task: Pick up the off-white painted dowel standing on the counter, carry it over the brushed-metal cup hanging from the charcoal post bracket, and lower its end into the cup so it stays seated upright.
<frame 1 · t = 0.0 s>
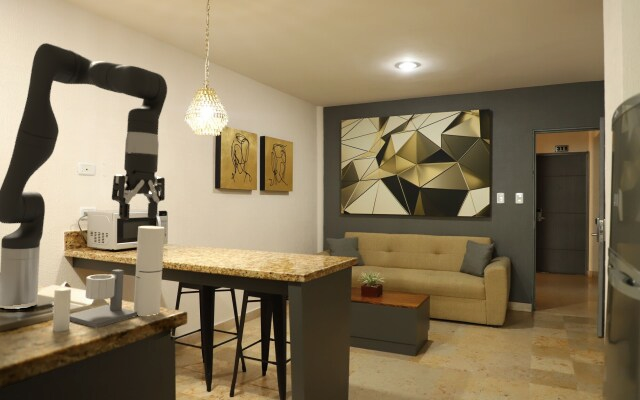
hand: (138, 218, 110), 29 cm above the counter, fingers open, 8 cm apart
cup bracket: (102, 317, 124), on the counter
dowel: (61, 329, 113), on the counter
cylindrical container: (146, 313, 131), on the counter
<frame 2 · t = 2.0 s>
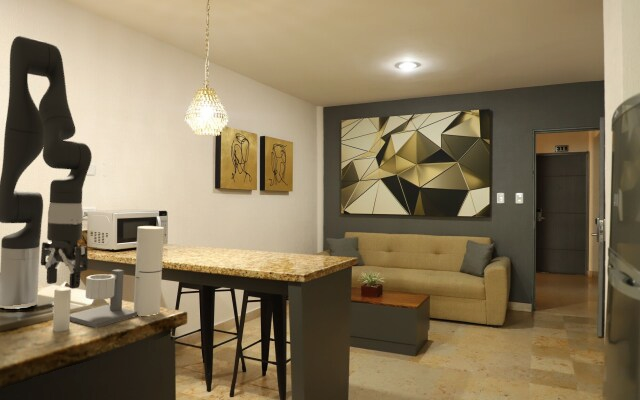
hand: (62, 285, 112), 11 cm above the counter, fingers open, 8 cm apart
nothing on the counter moved.
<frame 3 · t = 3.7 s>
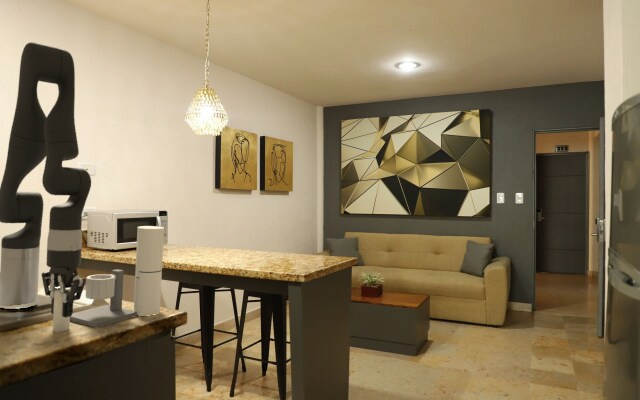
hand: (61, 314, 113), 4 cm above the counter, fingers closed on dowel, 3 cm apart
dowel: (61, 329, 113), on the counter, touching gripper
everything else where it was.
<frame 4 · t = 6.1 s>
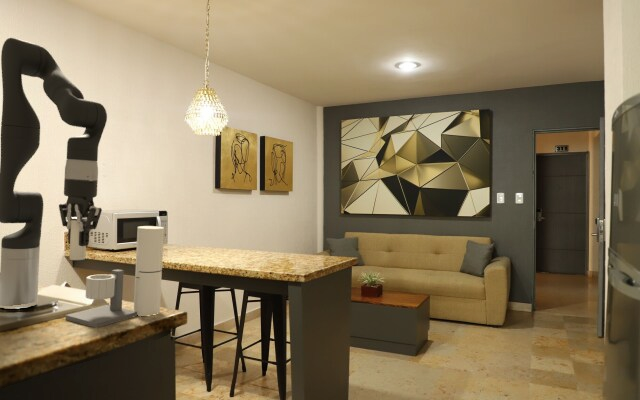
hand: (78, 244, 116), 21 cm above the counter, fingers closed on dowel, 3 cm apart
dowel: (77, 258, 116), point 17 cm above the counter, touching gripper
everything else where it was.
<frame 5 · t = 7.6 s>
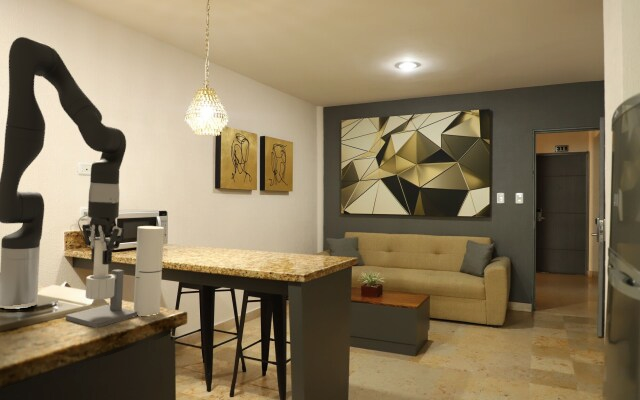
hand: (101, 262, 122), 15 cm above the counter, fingers closed on dowel, 3 cm apart
dowel: (100, 276, 123), point 12 cm above the counter, touching gripper
everything else where it was.
when the fingers open (14 cm above the counter, at t = 8.7 s): dowel drops 3 cm, resting on cup bracket.
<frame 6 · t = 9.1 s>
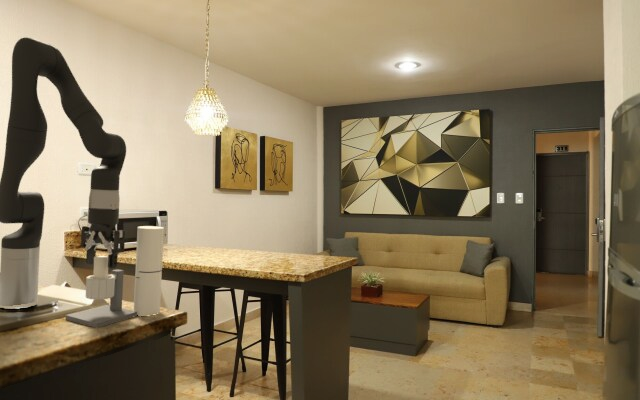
hand: (101, 266, 123), 15 cm above the counter, fingers open, 8 cm apart
dowel: (100, 293, 123), point 7 cm above the counter, touching cup bracket
everything else where it was.
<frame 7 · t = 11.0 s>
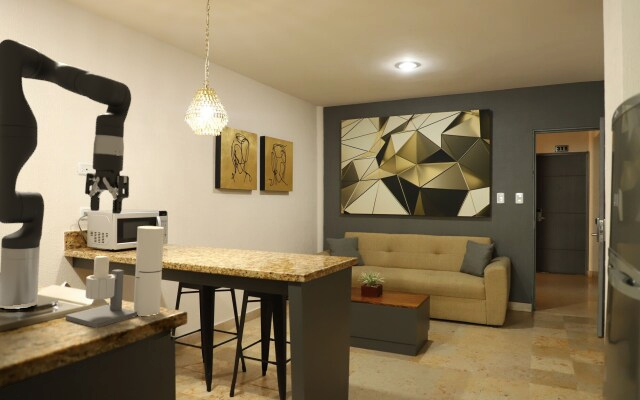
hand: (105, 212, 124), 29 cm above the counter, fingers open, 8 cm apart
nothing on the counter moved.
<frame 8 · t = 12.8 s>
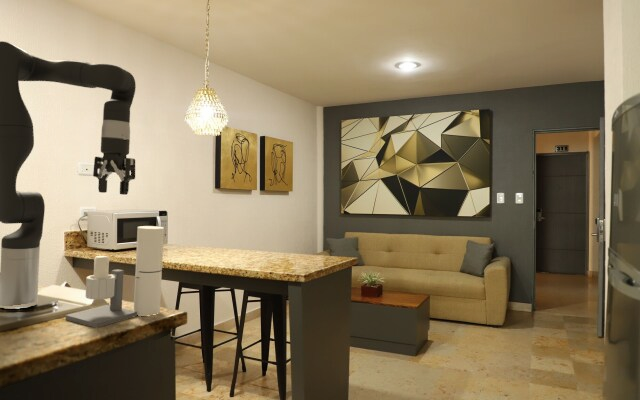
hand: (113, 193, 130), 34 cm above the counter, fingers open, 8 cm apart
nothing on the counter moved.
at the end: dowel 0.1 cm from the target spot on the cup bracket, point 7.0 cm above the cup bracket's base; dowel tilted 0°; the gripper is holding nothing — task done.
